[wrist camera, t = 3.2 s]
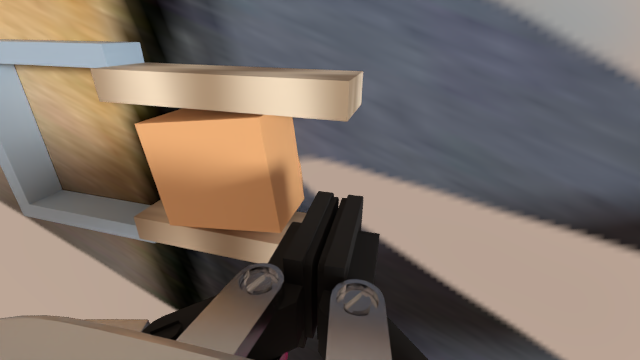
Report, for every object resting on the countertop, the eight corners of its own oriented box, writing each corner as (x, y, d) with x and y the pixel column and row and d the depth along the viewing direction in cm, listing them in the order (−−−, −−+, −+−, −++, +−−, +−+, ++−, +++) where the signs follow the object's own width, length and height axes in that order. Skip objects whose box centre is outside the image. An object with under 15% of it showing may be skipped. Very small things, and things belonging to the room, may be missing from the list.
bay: (139, 42, 18) (101, 43, 16) (179, 223, 23) (155, 243, 21) (-9, 39, 21) (-59, 40, 19) (56, 200, 26) (23, 215, 24)
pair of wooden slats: (363, 71, 15) (349, 81, 12) (352, 242, 20) (339, 280, 17) (144, 62, 18) (90, 68, 15) (177, 211, 23) (139, 238, 20)
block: (291, 100, 17) (258, 117, 14) (305, 197, 20) (280, 233, 16) (185, 107, 19) (134, 123, 16) (210, 194, 22) (170, 225, 18)
